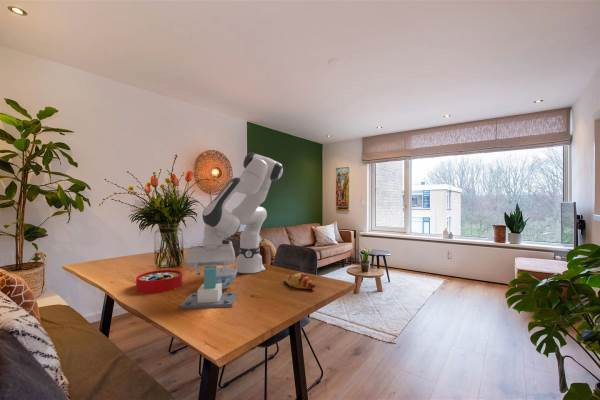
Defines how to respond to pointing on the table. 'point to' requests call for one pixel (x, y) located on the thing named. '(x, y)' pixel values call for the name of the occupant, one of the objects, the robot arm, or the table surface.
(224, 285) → the chinaware
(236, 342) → the table surface
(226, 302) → the stack base
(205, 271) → the teal brick
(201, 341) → the table surface
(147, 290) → the toy clock
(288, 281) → the croissant
